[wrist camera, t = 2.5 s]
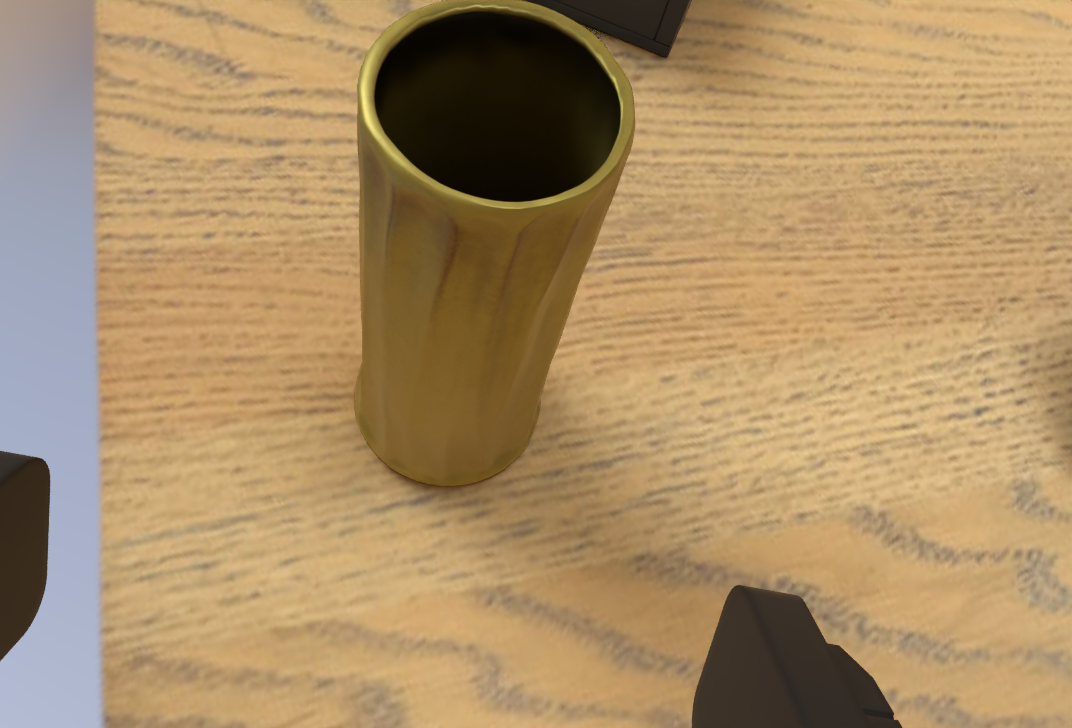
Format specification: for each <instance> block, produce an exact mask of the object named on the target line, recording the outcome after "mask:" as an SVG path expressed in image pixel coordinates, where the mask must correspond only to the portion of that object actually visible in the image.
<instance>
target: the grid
mask: <svg viewBox="0 0 1072 728" xmlns="http://www.w3.org/2000/svg"><path fill="white" fill-rule="evenodd" d="M526 1H528V2H531V3H534V4H538V5H541V6H543V7H546V8H549V9H551V10H554V11H556V12H558V13H560V14H562V15H564V16H566V17H568V18H570V19H573V20H575V21H578V22H580V23H582V24H585V25H587V26H590V27H592V28H595V29H597V30H600V31H602V32H605V33H607V34H610V35H612V36H614V37H617V38H619V39H622V40H624V41H627V42H629V43H632V44H634V45H637V46H639V47H642V48H644V49H646V50H649V51H651V52H654V53H656V54H659V55H661V56H664V57H667V56H668V55H669V52H670V50H671V48H672V45H673V43H674V41H675V38H676V36H677V34H678V31H679V29H680V27H681V24H682V22H683V20H684V17H685V15H686V13H687V10H688V8H689V6H690V3H691V1H692V0H526Z"/></svg>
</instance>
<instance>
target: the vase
mask: <svg viewBox="0 0 1072 728" xmlns="http://www.w3.org/2000/svg"><path fill="white" fill-rule="evenodd" d="M357 94H358V114H357V136H358V159H359V176H360V207H359V242H360V296H361V321H362V364H361V367H360V370H359V374H358V377H357V381H356V387H355V396H354V408H355V415H356V419H357V422H358V426H359V428H360V430H361V432H362V434H363V436H364V438H365V440H366V441H367V443H368V444H369V446H370V447H371V449H372V450H373V451H374V452H375V454H376V455H377V456H378V457H379V458H380V459H381V460H382V461H383V462H384V463H385V464H387V465H388V466H389V467H390V468H392V469H393V470H395V471H396V472H398V473H400V474H402V475H404V476H406V477H408V478H411V479H413V480H416V481H419V482H422V483H426V484H430V485H438V486H458V485H466V484H471V483H475V482H479V481H482V480H484V479H487V478H489V477H491V476H493V475H495V474H497V473H499V472H500V471H502V470H503V469H505V468H506V467H507V466H509V465H510V464H511V463H512V462H513V461H514V460H515V459H516V458H517V457H518V456H519V455H520V454H521V453H522V452H523V451H524V450H525V448H526V447H527V445H528V443H529V441H530V439H531V437H532V434H533V432H534V429H535V426H536V423H537V419H538V416H539V411H540V403H541V402H540V397H541V394H542V390H543V387H544V384H545V380H546V377H547V374H548V370H549V367H550V364H551V361H552V359H553V356H554V354H555V352H556V349H557V346H558V344H559V341H560V338H561V336H562V333H563V330H564V326H565V323H566V320H567V318H568V315H569V312H570V309H571V306H572V303H573V300H574V297H575V294H576V291H577V287H578V284H579V281H580V279H581V276H582V274H583V271H584V269H585V267H586V264H587V262H588V260H589V258H590V255H591V253H592V251H593V248H594V245H595V243H596V240H597V237H598V234H599V232H600V229H601V226H602V224H603V221H604V218H605V216H606V213H607V211H608V208H609V206H610V204H611V201H612V199H613V196H614V194H615V191H616V189H617V186H618V183H619V180H620V177H621V174H622V171H623V169H624V166H625V163H626V161H627V158H628V156H629V153H630V150H631V147H632V143H633V137H634V131H635V108H634V97H633V93H632V88H631V85H630V83H629V80H628V78H627V76H626V75H625V73H624V71H623V70H622V68H621V67H620V66H619V64H618V63H617V61H616V60H615V59H614V57H613V56H612V55H611V53H610V52H609V51H608V49H607V48H606V47H605V46H604V45H603V44H602V42H601V41H600V40H599V39H598V38H597V37H596V36H595V35H594V34H592V33H591V32H590V31H588V30H587V29H586V28H584V27H583V26H581V25H580V24H578V23H576V22H575V21H573V20H572V19H570V18H568V17H566V16H564V15H562V14H560V13H558V12H556V11H554V10H551V9H549V8H546V7H543V6H541V5H538V4H534V3H530V2H526V1H521V0H445V1H442V2H438V3H435V4H431V5H428V6H425V7H423V8H420V9H417V10H415V11H412V12H410V13H409V14H407V15H406V16H404V17H402V18H401V19H399V20H398V21H396V22H394V23H393V24H392V25H390V26H389V27H388V28H387V29H386V30H385V31H384V32H383V33H382V34H381V36H380V37H379V38H378V39H377V40H376V41H375V43H374V44H373V46H372V47H371V49H370V50H369V52H368V53H367V55H366V56H365V59H364V61H363V64H362V66H361V69H360V74H359V79H358V85H357Z"/></svg>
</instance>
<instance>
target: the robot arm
mask: <svg viewBox="0 0 1072 728" xmlns="http://www.w3.org/2000/svg"><path fill="white" fill-rule="evenodd" d="M49 503H50V473H49V468H48V465H47V464H46V462H45V461H44V460H43V459H41V458H37V457H31V456H26V455H20V454H15V453H9V452H4V451H0V661H1V660H2V659H3V657H4V656H5V655H6V654H7V653H8V652H9V650H11V649H12V647H13V646H14V645H15V644H16V643H17V642H18V641H19V640H20V638H21V637H22V636H23V635H24V634H25V632H26V631H27V630H28V628H29V627H30V625H31V623H32V622H33V620H34V618H35V616H36V614H37V612H38V609H39V607H40V604H41V601H42V598H43V595H44V591H45V586H46V579H47V559H48V531H49ZM893 715H894V713H893V711H892V709H891V707H890V706H889V704H888V702H887V701H886V699H885V697H884V695H883V694H882V692H881V690H880V689H879V687H878V685H877V684H876V682H875V680H874V678H873V677H872V676H871V675H869V674H868V673H867V672H866V671H865V670H864V669H863V668H862V667H861V666H860V665H859V664H858V663H857V662H856V661H855V660H854V659H853V658H852V657H851V656H850V655H848V654H847V653H846V652H845V651H844V650H843V649H842V648H841V647H840V646H838V645H833V644H827V643H826V641H825V639H824V637H823V635H822V633H821V632H820V630H819V628H818V626H817V624H816V622H815V620H814V619H813V617H812V615H811V613H810V611H809V609H808V608H807V606H806V604H805V602H804V601H803V599H802V598H801V597H799V596H797V595H792V594H786V593H781V592H775V591H769V590H764V589H758V588H753V587H747V586H741V585H737V586H735V587H734V588H733V589H732V590H731V591H730V593H729V595H728V597H727V599H726V601H725V604H724V607H723V610H722V613H721V616H720V619H719V622H718V625H717V628H716V631H715V634H714V637H713V640H712V643H711V646H710V649H709V652H708V656H707V659H706V662H705V665H704V668H703V671H702V674H701V677H700V680H699V683H698V686H697V689H696V693H695V697H694V703H693V712H692V728H902V726H901V724H900V723H899V721H898V720H894V718H893Z"/></svg>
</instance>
